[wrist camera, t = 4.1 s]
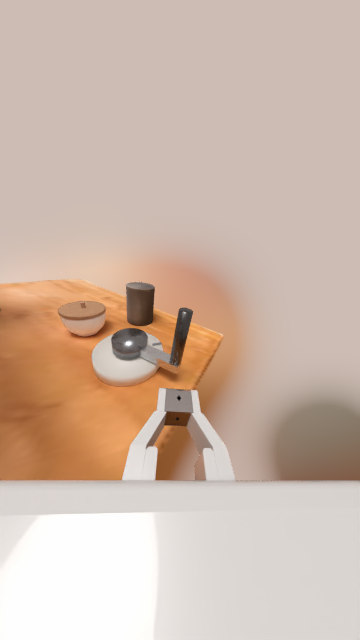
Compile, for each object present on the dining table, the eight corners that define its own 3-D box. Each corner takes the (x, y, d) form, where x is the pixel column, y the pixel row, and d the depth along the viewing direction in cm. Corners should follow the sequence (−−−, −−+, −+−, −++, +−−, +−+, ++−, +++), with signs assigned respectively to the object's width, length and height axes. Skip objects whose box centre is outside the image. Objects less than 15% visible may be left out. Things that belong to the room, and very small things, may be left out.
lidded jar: (112, 334, 40) (109, 307, 35) (67, 346, 33) (57, 313, 28) (102, 319, 46) (99, 294, 42) (63, 326, 39) (54, 297, 35)
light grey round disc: (92, 345, 34) (90, 336, 33) (149, 334, 43) (150, 326, 41) (95, 400, 23) (92, 389, 22) (172, 370, 32) (174, 361, 30)
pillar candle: (156, 323, 50) (160, 285, 44) (132, 328, 44) (131, 285, 38) (146, 313, 57) (147, 278, 50) (123, 316, 51) (121, 277, 44)
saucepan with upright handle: (104, 350, 29) (95, 290, 23) (129, 334, 36) (128, 284, 29) (170, 385, 24) (183, 322, 18) (185, 358, 31) (198, 306, 25)
